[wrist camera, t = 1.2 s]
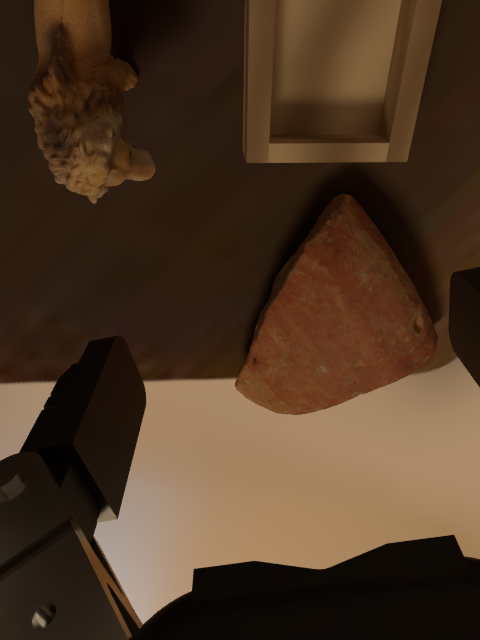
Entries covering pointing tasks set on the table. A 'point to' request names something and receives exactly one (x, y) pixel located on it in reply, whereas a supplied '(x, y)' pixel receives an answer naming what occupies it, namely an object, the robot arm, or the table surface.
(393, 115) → the rectangular tray
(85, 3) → the lion figurine
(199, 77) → the table surface
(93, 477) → the robot arm
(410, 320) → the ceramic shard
